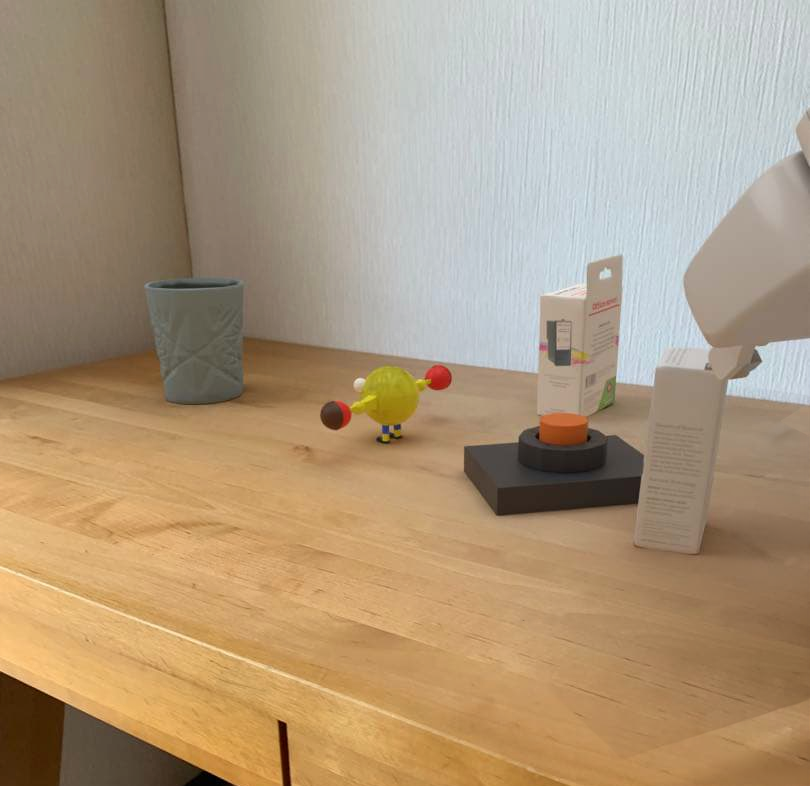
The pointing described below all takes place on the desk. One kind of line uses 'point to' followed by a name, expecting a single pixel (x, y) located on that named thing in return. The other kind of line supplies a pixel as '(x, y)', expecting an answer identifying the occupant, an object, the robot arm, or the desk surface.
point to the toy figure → (386, 399)
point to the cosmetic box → (680, 452)
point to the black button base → (555, 473)
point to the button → (563, 429)
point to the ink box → (580, 343)
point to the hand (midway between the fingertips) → (797, 359)
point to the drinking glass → (198, 337)
